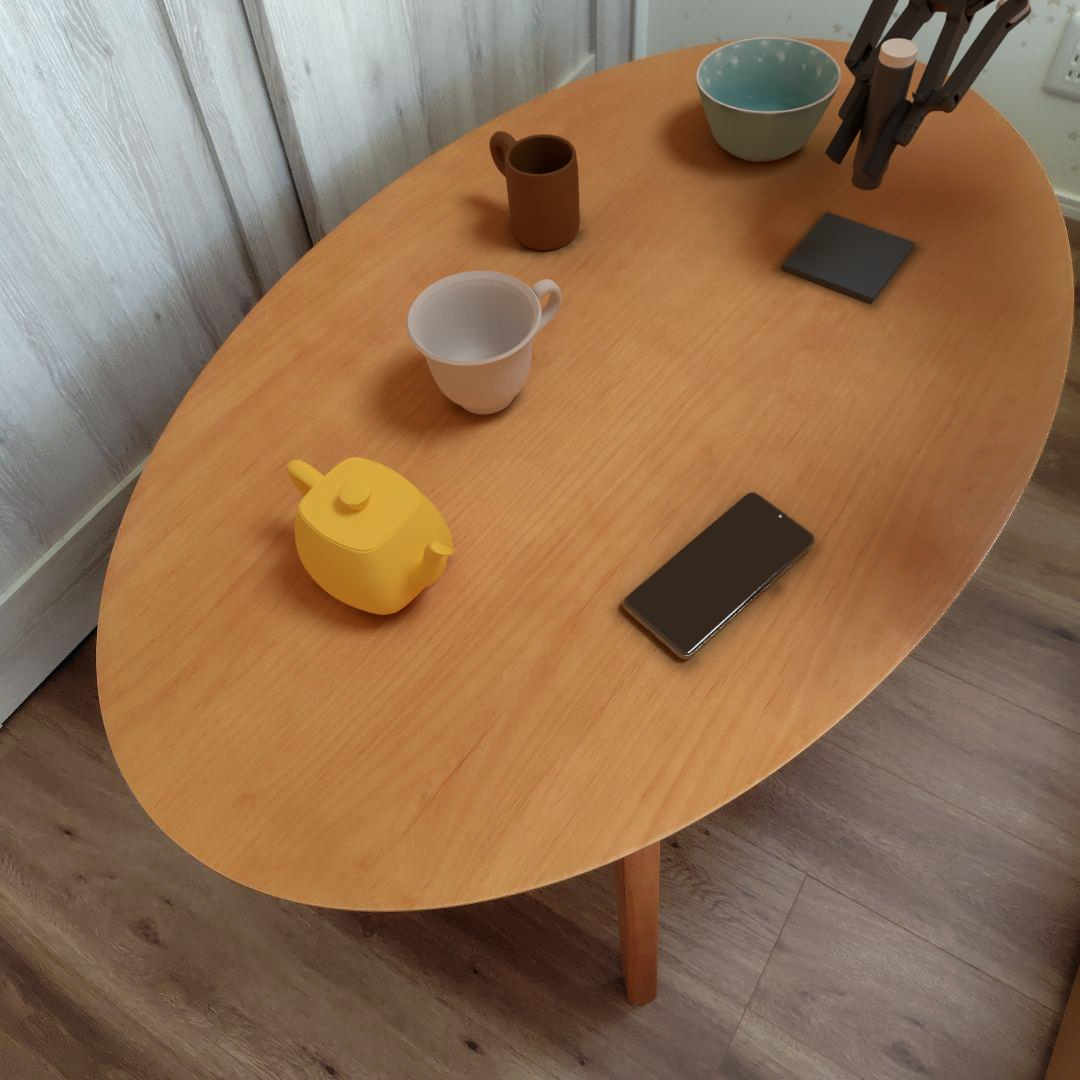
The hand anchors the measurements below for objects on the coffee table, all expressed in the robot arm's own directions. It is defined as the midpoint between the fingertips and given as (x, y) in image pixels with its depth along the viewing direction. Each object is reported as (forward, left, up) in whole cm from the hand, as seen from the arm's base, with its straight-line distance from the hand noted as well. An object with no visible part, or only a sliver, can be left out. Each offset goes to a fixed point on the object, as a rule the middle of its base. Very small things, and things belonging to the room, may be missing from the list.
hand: (850, 166), depth 86 cm
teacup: (+19, +30, -13) cm, 38 cm away
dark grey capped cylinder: (-1, -4, -4) cm, 5 cm away
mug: (+31, +8, -13) cm, 35 cm away
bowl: (+17, -18, -13) cm, 28 cm away
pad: (-1, -4, -13) cm, 13 cm away
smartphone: (-9, +37, -13) cm, 41 cm away
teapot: (+14, +52, -13) cm, 56 cm away
